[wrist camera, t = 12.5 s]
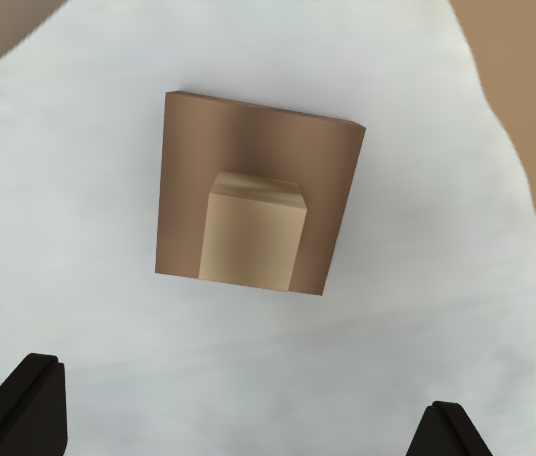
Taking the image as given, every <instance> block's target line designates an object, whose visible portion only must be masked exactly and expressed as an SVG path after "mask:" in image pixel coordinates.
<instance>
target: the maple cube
mask: <svg viewBox="0 0 536 456" xmlns="http://www.w3.org/2000/svg"><path fill="white" fill-rule="evenodd" d="M306 212H307V208H306V205H305V202H304V199H303V196H302V194H301V191H300V188H299V185H298V183H294V182H288V181H282V180H276V179H271V178H265V177H259V176H253V175H248V174H242V173H236V172H230V171H225V170H220V171H219V173H218V175H217V177H216V179H215V182H214V184H213V186H212V188H211V191H210V193H209V200H208V208H207V216H206V224H205V232H204V240H203V248H202V256H201V263H200V271H199V279H202V280H208V281H215V282H222V283H229V284H236V285H242V286H249V287H256V288H263V289H269V290H276V291H283V292H288V288H289V284H290V280H291V275H292V271H293V267H294V263H295V258H296V254H297V250H298V246H299V242H300V237H301V233H302V229H303V225H304V220H305V216H306Z"/></svg>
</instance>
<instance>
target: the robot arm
mask: <svg viewBox="0 0 536 456" xmlns="http://www.w3.org/2000/svg"><path fill="white" fill-rule="evenodd" d="M67 441H68V436H67V413H66V391H65V368H64V364H63V363H58V358H57V356H53V355H45V354H36V353H30V354H28V355H27V356H26V357H25V358H24V359H23V360H22V362H21V363H20V364H19V365H18V366H17V367H16V368H15V370H14V371H13V372H12V373H11V374H10V375H9V376H8V378H7V379H6V380H5V381H4V382H3V383H2V385H1V386H0V456H63V455H64V452H65V450H66V446H67ZM406 456H493V455H492V453H491V452H490V450H489V449H488V447H487V445H486V444H485V442H484V441H483V439H482V438H481V436H480V434H479V433H478V431H477V430H476V428H475V426H474V425H473V423H472V422H471V420H470V418H469V417H468V415H467V414H466V412H465V410H464V409H463V408H462V406H461V405H459V404H458V403H451V402H443V401H435V402H433V404H432V405H431V406H428V407H427V408H426V410H425V412H424V414H423V417H422V419H421V421H420V424H419V426H418V428H417V431H416V433H415V435H414V437H413V440H412V442H411V444H410V447H409V449H408V451H407V454H406Z"/></svg>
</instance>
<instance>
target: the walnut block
mask: <svg viewBox="0 0 536 456" xmlns="http://www.w3.org/2000/svg"><path fill="white" fill-rule="evenodd" d="M365 130H366V128H365V127H363V126H361V125H359V124H356V123H354V122H351V121H346V120H340V119H335V118H329V117H323V116H318V115H312V114H306V113H301V112H295V111H289V110H284V109H278V108H272V107H267V106H261V105H255V104H250V103H244V102H239V101H233V100H227V99H222V98H216V97H210V96H205V95H199V94H193V93H188V92H182V91H174V92H167V93H166V97H165V114H164V131H163V148H162V165H161V181H160V198H159V215H158V232H157V249H156V266H155V273H160V274H167V275H174V276H182V277H189V278H196V279H199V271H200V263H201V256H202V248H203V240H204V232H205V224H206V216H207V208H208V200H209V193H210V191H211V188H212V186H213V184H214V182H215V179H216V177H217V175H218V173H219V171H220V170H225V171H230V172H236V173H242V174H248V175H253V176H259V177H265V178H271V179H276V180H282V181H288V182H294V183H298V185H299V188H300V191H301V194H302V196H303V199H304V202H305V205H306V208H307V212H306V216H305V220H304V225H303V229H302V233H301V237H300V242H299V246H298V250H297V254H296V258H295V263H294V267H293V271H292V275H291V280H290V284H289V288H288V291H292V292H299V293H307V294H314V295H321V296H322V293H323V290H324V286H325V282H326V278H327V274H328V271H329V267H330V263H331V259H332V255H333V252H334V248H335V244H336V240H337V236H338V233H339V229H340V225H341V221H342V217H343V214H344V210H345V206H346V202H347V198H348V195H349V191H350V187H351V183H352V179H353V176H354V172H355V168H356V164H357V161H358V157H359V153H360V149H361V145H362V142H363V138H364V134H365Z"/></svg>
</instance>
